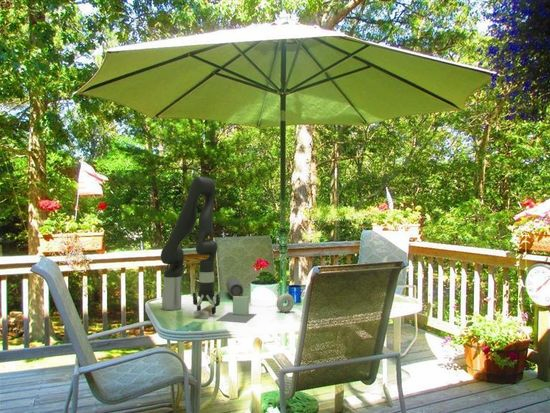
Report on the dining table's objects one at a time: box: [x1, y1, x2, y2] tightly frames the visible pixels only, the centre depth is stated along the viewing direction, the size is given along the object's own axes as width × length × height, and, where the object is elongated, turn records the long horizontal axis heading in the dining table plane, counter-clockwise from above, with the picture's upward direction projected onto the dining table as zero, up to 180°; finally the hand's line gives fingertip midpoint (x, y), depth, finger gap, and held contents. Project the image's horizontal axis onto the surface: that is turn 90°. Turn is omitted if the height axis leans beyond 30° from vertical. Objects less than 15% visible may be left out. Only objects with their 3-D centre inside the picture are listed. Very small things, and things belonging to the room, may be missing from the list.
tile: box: [232, 295, 250, 315], centre depth 235 cm, size 8×1×9 cm, turn 76°
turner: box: [193, 304, 212, 320], centre depth 233 cm, size 7×16×4 cm, turn 166°
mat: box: [215, 311, 257, 324], centre depth 229 cm, size 15×18×1 cm
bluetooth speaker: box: [225, 277, 244, 298], centre depth 285 cm, size 23×9×10 cm, turn 10°
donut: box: [276, 292, 295, 314], centre depth 243 cm, size 10×4×10 cm, turn 119°
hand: (206, 313), depth 233 cm, fingers open, 7 cm apart
